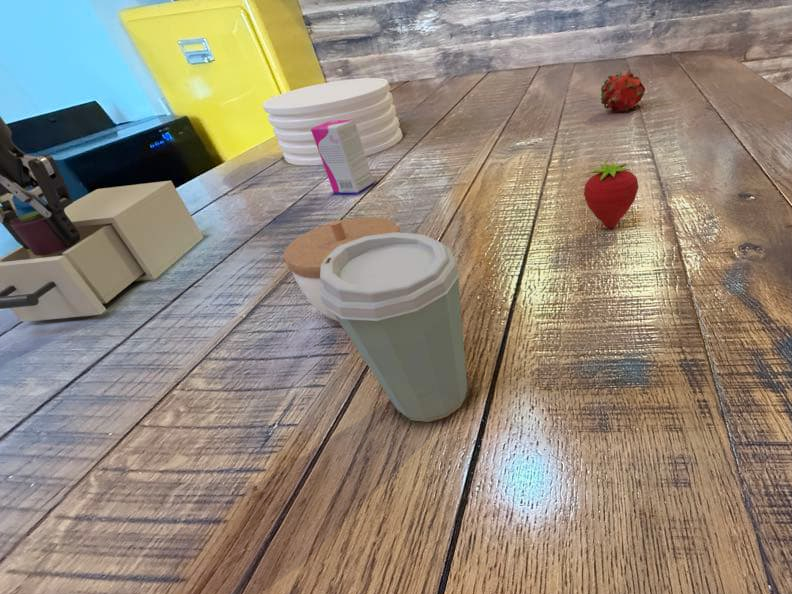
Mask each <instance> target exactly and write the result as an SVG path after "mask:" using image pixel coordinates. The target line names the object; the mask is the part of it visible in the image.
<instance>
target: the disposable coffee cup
mask: <svg viewBox="0 0 792 594" xmlns="http://www.w3.org/2000/svg"><path fill="white" fill-rule="evenodd" d="M460 276H461V271H460V269H459V265H458V263H457V260H456V258H455V257H454V254H453V251H452V249H451V248H450V247H449V246H447V245H444V243H443V242H441V241H439V240H436V239H434V238H432V237H430V236H428V235H425V234H422V233H421V234H420V233H409V232H400V233H398V232H394V233H386V234H379V235H371V236H365V237H362V238H359V239H356V240H354V241H351V242H348V243H345V244H343V245H340V246H338V247H337V248H335V249H334V250H333V251H332V252H331V253H330V254H329V255H328V256H327V257H326V258H325V259H324V261H323V263H322V264H321V269H320V279H321V295H320V296H321V299H322V301H323V307H324V308H326V309H327V310H329V311H331V312H332V313H333V314H334V315H335V317H336V318H337V320H338V321H337V322H338V323H339V324H340V326H341V327H342V329H343V331H344V333H346V335H347V336H348V338H349V340H350V341H351V342H352V344H353V345H354V347H355V349H356V350H357V352H358V353H359V355H360V356H361V358H362V359H363V361H364V362H365V364H366V365H367V367H368V368H369V370H370V371H371V373H372V374H373V376H374V377H375V378H376V380H377V382H378V383H379V385H380V387H381V388H382V390H383V391H384V392H385V394H386V395H387V397H388V398H389V400H390V401H391V403H392V404H393V406H394V407H395V409H396V410H397V411H398V412H399V413H401V414H402V415H403V416H404V417H406V418H407V419H409V420H411V421H413V422H414V421H415V422H423V423H431V422H435V421H438V420H441V419H445V418H448V417H449V416H451V415H452V414H453V413H455V412H456V411H457V410H458V409H460V408H461V406H462V405H463V402H464V401H465V399H466V396H467V392H468V391H469V387H468V377H467V365H466V355H465V342H464V329H463V318H462V307H461V294H460V282H459V277H460Z"/></svg>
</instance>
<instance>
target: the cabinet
mask: <svg viewBox="0 0 792 594" xmlns="http://www.w3.org/2000/svg"><path fill="white" fill-rule="evenodd" d="M64 211H65V214H66V215H67V216H68V218H69V219H70V220H71V222H72V223H73V225H74V226H75V227H82V226H91V225H100V224H109V223H112V225H113V226H114V228H115V229H116V231H117V232H118V234H119V235H120V236H121V238H122V239H123V241H124V242H125V244H126V245H127V247H128V248H129V250H130V251H131V253H132V254H133V255H134V257H135V258H136V260H137V261H138V263H139V264H140V266H141V267H142V269H143V270H144V273H143V274H142V275H141V276H139V277H138V278H137V279H136V280H134V281H133V282H142V281H152V280H156V279H158V277H160V276H161V275H162V274H164V272H166V271H167V270H168V269H169V268H170V267H172V266H173V265H174V264H175V263H176V262H177V261H179V260H180V259H181V258H182V257H183V256H184V255H185V254H186V253H188V252H189V251H190V250H192V249H193V247H195V246H196V245H197V244H198V243H199V242H200V241H202V240H203V239H204V235H203V234H202V232H201V230H200V228H199V227H198V225H197V224H196V222H195V219H194V218H193V216H192V214H191V213H190V211H189V210H188V208H187V206H186V205H185V202H184V201H183V199H182V197H181V195H180V193H179V192H178V190H177V188H176V186H175V185H174V183H173V181H172V180H164V181H155V182H147V183H137V184H131V185H130V184H129V185H121V186H112V187H104V188H103V187H102V188H97V189H95V190H93V191H91V192H89V193H87V194H86V195H84V196H82V197H80V198H78V199H76V200H75V201H73V203H72V204H70V205H69V206H67V207H66V208H65V209H64Z"/></svg>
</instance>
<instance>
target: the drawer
mask: <svg viewBox="0 0 792 594" xmlns="http://www.w3.org/2000/svg"><path fill="white" fill-rule="evenodd" d="M75 228H76V229H77V230H78V231H79V234H80V240H79V241H77V243H75V244H74V245H73V246H71V247H69V248H67V249H65V250H62V251H59V252H56V253H52V254H48V255H40V256H38V255H34V254H33V252H32V251H31V250H30V249H25V248H24V247H23V246H22V245H20V246H18V247H17V248H15V249H13V250H11V251H9V252H8V253H6V254H4V255H2V256H1V257H0V310H2V309H3V310H5V309H9V310H10V311H11V312H12V314H14V315H15V316H16V318H18V319H19V320H20V322H21V323H27V322H37V321H38V322H39V321H49V320H57V319H69V318H79V317H89V316H90V317H91V316H100V315H102V314H103V313H104V312H106V311H107V308H106V307H105V306H104V305H103V304H108V303H109V302H111V300H112V299H114V298H115V297H116V296H117V295H119V294H120V293H121V292H122V291H123V290H124V289H126V288H127V287H128V286H130V285H131V284H132V283H133V282H135V281H134V280H136V279H137V278H138V277H139V276H141V275H142V274H143V273H144V270H143V269H142V267H141V266H140V264H139V263H138V261H137V260H136V258H135V257H134V255H133V254H132V253H131V251H130V250H129V248H128V247H127V245H126V244H125V242H124V241H123V239H122V238H121V236H120V235H119V234H118V232H117V231H116V229H115V228H114V226H113V225H112V223H109V224H100V225H91V226H82V227H75Z"/></svg>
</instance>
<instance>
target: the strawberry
mask: <svg viewBox="0 0 792 594" xmlns="http://www.w3.org/2000/svg"><path fill="white" fill-rule="evenodd" d="M611 156H612V154H610V155H609V156H608V158H607V159H606V160H605V162H604V164H602V163H600V168H598V169H594V170H592V171H591V170H590V171H589V174H594V175H592V176H591V177H590V178H589V179H588V180H587V181H586V183H584V190H583V196H584V199H585V202H586V205H587V207H588V209H590V211H591V212H592V214H593V215H594V216H595V217H596V218H597V219H598V220H599V221H600V222H601V223H602V224H603V226H605V227H606V228H607V229H612V228H615V227H616V226H617V225H618V223H619V222H620V220H621V219H622V218H623V217H624V216H625V215H626V214H627V212H628V211H629V210H630V208H631V206H633V203H634V202H635V200H636V196H637V194H638V190H639V183H638V177H637V176H636V175H635V174H634V173H633V172H631V169H630V168H626V166H627V165H628V163H624V164H623V163H622V164H618V165H616V164H615V163H612V164H607V162H608V161H609V160H610V158H611Z"/></svg>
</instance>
